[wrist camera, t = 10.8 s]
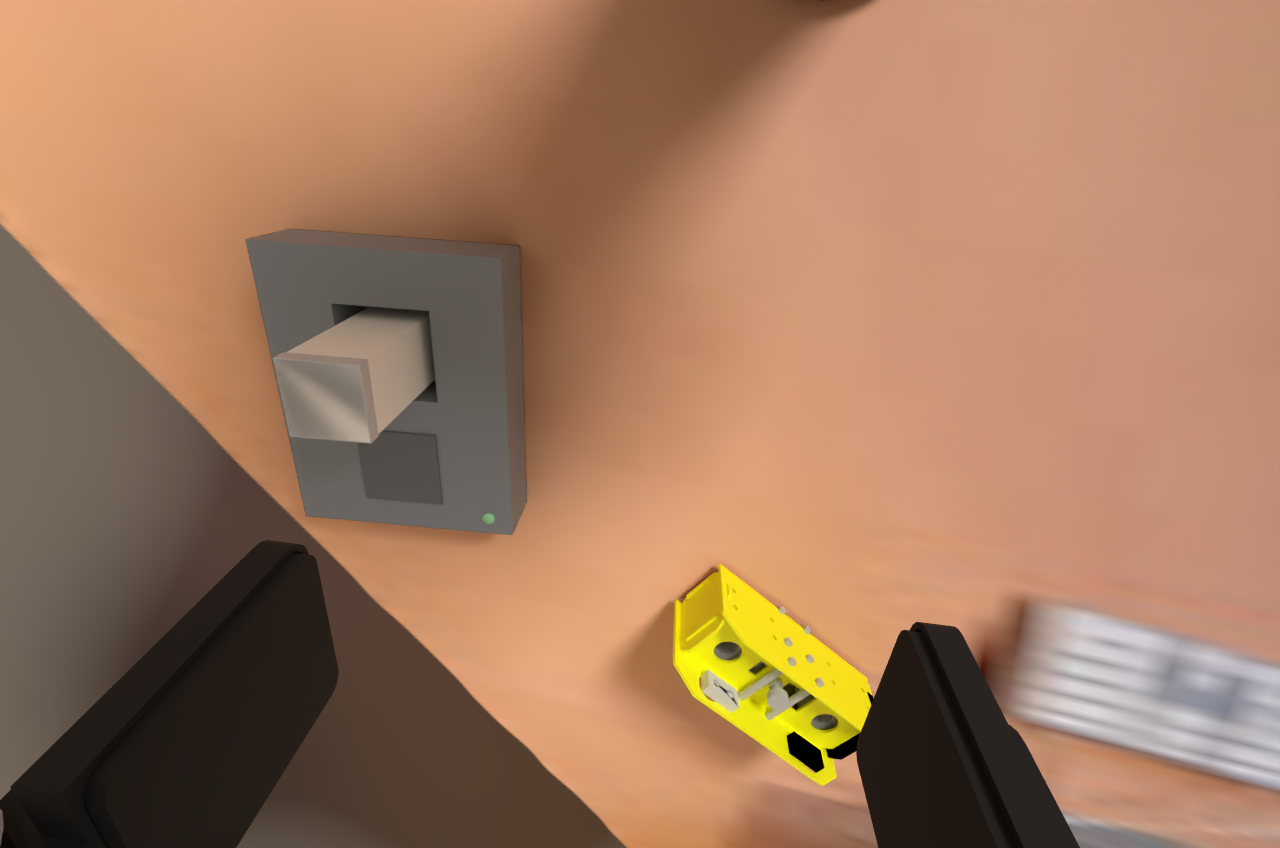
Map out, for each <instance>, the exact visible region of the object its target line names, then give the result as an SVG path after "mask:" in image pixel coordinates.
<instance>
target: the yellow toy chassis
mask: <svg viewBox="0 0 1280 848" xmlns="http://www.w3.org/2000/svg"><path fill="white" fill-rule="evenodd" d="M718 568H719V572H716V573H713V574H711V575H710V576H709V577H708V578H707V579H705V580H704V581H703V582H702V583H700V584H699V585H698V586H697V587H695V588H694V589H693V590H692V591H691V592H689V593H688V594H687V595H686V598H685V600H684V601H683V603H681V602H679V601H678V600H677V599H676V600H675V603H674V635H673V665H674V667H675V668H676V670H677V671H678V673H679V675H680V676H681V678H682V679H683V681H684V683H685V684H686V686H687V688H688V689H689V691H690V692H691V694H692V696H693V697H694V698H696V699H697V700H699V701H700V702H701V703H703V704H704V705H706V706H707V707H709V708H710V709H711V710H713V711H714V712H716V713H717V714H719V715H720V716H722V717H723V718H724V719H726V720H727V721H729V722H730V723H732V724H733V725H734V726H736V727H737V728H739V729H740V730H742V731H743V732H744V733H746V734H747V735H749V736H750V737H752V738H753V739H754V740H756V741H757V742H759V743H760V744H762V745H763V746H764V747H766V748H767V749H769V750H770V751H772V752H773V753H774V754H776V755H777V756H779V757H780V758H782V759H783V760H784V761H786V762H787V763H789V764H790V765H792V766H793V767H794V768H796V769H797V770H799V771H800V772H802V773H803V774H805V775H806V776H807V777H809V778H810V779H812V780H813V781H815V782H816V783H817V784H819V785H820V786H823V785H825V784H826V783H828V782H830V781H831V780H833V779H835V778H836V777H837V775H836V770H835V766H834V762H833V759H841V760H842V759H843V758H845V757H847V756H848V755H850V754H852V753H854V752H855V751H857V741H858V738H859V735H860V732H861V730H862V727H863V725H864V722H865V720H866V717H867V715H868V712H869V710H870V707H871V704H872V702H873V696H872V693H871V690H870V687H869V684H868V681H867V678H866V677H865V676H864V675H862V674H861V673H860V672H859V671H857V670H856V669H855V668H853V667H852V666H851V665H850V664H848V663H847V662H846V661H844V660H843V659H842V658H841V657H839V656H838V655H837V654H836V653H834V652H833V651H832V650H830V649H829V648H828V647H827V646H825V645H824V644H823V643H821V642H820V641H819V640H818V639H816V638H815V637H814V636H812V635H811V634H810V633H811V629H810V628H809V627H808V626H805V627H804V628H802V627H801V626H800V625H798V624H797V623H796V622H795V621H793V620H792V619H791V618H789V617H788V616H787V615H786V614H785V613H786V610H785V608H784V607H783V606H781V607H779V608H777V607H775V606H774V605H773V604H771V603H770V602H769V601H768V600H766V599H765V598H764V597H762V596H761V595H760V594H759V593H757V592H756V591H755V590H754V589H752V588H751V587H750V586H748V585H747V584H746V583H745V582H743V581H742V580H741V579H739V578H738V577H737V576H736V575H734V574H733V573H732V572H730V571H729V570H728V569H727V568H725V567H724V566H723V565H721V564H719V565H718ZM700 677H701V688H700V685H699V678H700ZM703 693H704V694H705V695H707V696H708V697H710V698H711V699H713V700H714V701H715V702H712V701H710V700H709V699H708V698H706V696H705V695H704V694H703ZM804 764H805V765H806V766H808V767H809V768H810V769H812V770H813V771H815V772H811V771H810V770H809V769H808V768H807V767H806V766H805V765H804Z"/></svg>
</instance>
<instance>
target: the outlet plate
mask: <svg viewBox="0 0 1280 848" xmlns="http://www.w3.org/2000/svg"><path fill="white" fill-rule="evenodd" d="M246 244H247V248H248V253H249V257H250V262H251V267H252V271H253V276H254V280H255V285H256V289H257V294H258V299H259V303H260V308H261V312H262V317H263V321H264V326H265V331H266V335H267V340H268V344H269V349H270V354H271V358H272V363H273V367H274V372H275V376H276V381H277V386H278V390H279V395H280V399H281V404H282V408H283V413H284V418H285V422H286V427H287V431H288V436H289V440H290V445H291V450H292V454H293V459H294V463H295V468H296V472H297V477H298V482H299V486H300V491H301V495H302V500H303V504H304V509H305V514H306V516H310V517H321V518H332V519H343V520H353V521H364V522H375V523H386V524H397V525H408V526H419V527H430V528H440V529H451V530H462V531H473V532H484V533H495V534H506V535H513V532H514V530H515V528H516V526H517V523H518V521H519V519H520V516H521V514H522V512H523V510H524V507H525V505H526V503H527V491H526V455H525V419H524V383H523V347H522V311H521V275H520V245H506V244H492V243H478V242H465V241H451V240H437V239H423V238H410V237H396V236H382V235H368V234H354V233H341V232H327V231H313V230H299V229H286V230H282V231H278V232H274V233H270V234H266V235H261V236H257V237H253V238H249V239H246ZM368 307H383V308H396V309H409V310H422V311H429V317H430V327H431V338H432V348H433V359H434V369H435V380H434V381H433V382H432V383H431V384H430V385H429V386H428V387H427V388H426V389H425V390H424V391H423V392H422V393H421V394H420V395H418V396H417V397H416V398H415V399H414V400H413V401H412V402H411V403H410V404H409V405H408V406H407V407H406V408H405V409H404V410H403V411H402V412H401V413H400V414H399V415H398V416H397V417H396V418H395V419H394V420H393V421H392V422H391V423H390V424H389V425H388V426H387V427H386V428H385V429H384V430H383V431H382V432H381V433H379V436H378V437H377V438H376V439H375V440H374V441H373V442H372V443H371V444H370V443H359V442H348V441H336V440H325V439H314V438H302V437H291V436H290V434H289V430H288V425H287V420H286V416H285V411H284V407H283V402H282V397H281V393H280V388H279V383H278V379H277V374H276V369H275V365H274V360H273V358H274V357H275V356H277V355H279V354H281V353H283V352H288V351H290V350H291V349H293V348H295V347H297V346H299V345H301V344H302V343H304V342H306V341H308V340H310V339H312V338H313V337H315V336H317V335H319V334H321V333H323V332H324V331H326V330H328V329H330V328H332V327H334V326H335V325H337V324H339V323H341V322H343V321H344V320H346V319H348V318H350V317H352V316H354V315H355V314H357V313H359V312H361V311H363V310H365V309H366V308H368Z"/></svg>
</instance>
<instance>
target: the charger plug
mask: <svg viewBox="0 0 1280 848" xmlns="http://www.w3.org/2000/svg"><path fill="white" fill-rule="evenodd" d="M273 360H274V365H275V369H276V374H277V379H278V383H279V388H280V393H281V397H282V402H283V407H284V411H285V416H286V420H287V425H288V430H289V434H290V436H291V437H302V438H314V439H325V440H336V441H348V442H359V443H370V444H371V443H372V442H373V441H374V440H375V439H376V438H377V437H378V436H379V433H381V432H382V431H383V430H384V429H385V428H386V427H387V426H388V425H389V424H390V423H391V422H392V421H393V420H394V419H395V418H396V417H397V416H398V415H399V414H400V413H401V412H402V411H403V410H404V409H405V408H406V407H407V406H408V405H409V404H410V403H411V402H412V401H413V400H414V399H415V398H416V397H417V396H418V395H420V394H421V393H422V392H423V391H424V390H425V389H426V388H427V387H428V386H429V385H430V384H431V383H432V382H433V381H434V380H435V369H434V359H433V348H432V338H431V327H430V317H429V311H422V310H409V309H396V308H383V307H368V308H366V309H365V310H363V311H361V312H359V313H357V314H355V315H354V316H352V317H350V318H348V319H346V320H344V321H343V322H341V323H339V324H337V325H335V326H334V327H332V328H330V329H328V330H326V331H324V332H323V333H321V334H319V335H317V336H315V337H313V338H312V339H310V340H308V341H306V342H304V343H302V344H301V345H299V346H297V347H295V348H293V349H291V350H290V351H288V352H283V353H281V354H279V355H277V356H275V357H274V358H273Z"/></svg>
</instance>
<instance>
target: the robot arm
mask: <svg viewBox="0 0 1280 848" xmlns="http://www.w3.org/2000/svg"><path fill="white" fill-rule="evenodd" d="M337 680H338V666H337V661H336V656H335V651H334V646H333V641H332V636H331V631H330V626H329V621H328V616H327V611H326V606H325V601H324V596H323V591H322V586H321V581H320V576H319V571H318V566H317V562H316V559H315V557H314V556H312V555H309V554H308V552H307V549H306V548H305V547H304V546H303V545H300V544H293V543H285V542H277V541H269V540H266V541H262V542H260V543H259V544H258V545H256V546H255V547H254V548H253V549H252V550H251V551H250V552H249V553H248V554H247V555H246V556H245V557H244V558H243V559H242V560H241V561H240V562H239V563H238V564H237V565H236V566H235V567H234V568H233V569H232V570H231V571H230V572H229V573H228V574H227V575H226V576H224V578H223V579H221V580H220V581H219V583H217V584H216V586H214V587H213V588H212V589H211V590H210V591H209V592H208V593H207V594H206V595H205V596H204V597H203V598H202V599H201V600H200V601H199V602H198V603H197V604H196V605H195V606H194V607H193V608H192V609H191V610H190V611H189V612H188V613H187V614H186V615H185V616H184V617H183V618H182V619H181V620H180V621H179V622H178V623H177V624H176V625H175V626H174V627H173V628H172V629H171V630H170V631H169V632H168V633H166V634H165V636H164V637H162V638H161V640H159V641H158V642H157V643H156V644H155V645H154V646H153V647H152V648H151V649H150V650H149V651H148V652H147V653H146V654H145V655H144V656H143V657H142V658H141V659H140V660H139V661H138V662H137V663H136V664H135V665H134V666H133V667H132V668H131V669H130V670H129V671H128V672H127V673H126V674H125V675H124V676H123V677H122V678H121V679H120V680H119V681H118V682H117V683H116V684H115V685H113V687H112V688H110V689H109V690H108V691H107V692H106V693H105V694H104V695H103V696H102V697H101V698H100V699H99V700H98V701H97V702H96V703H95V704H94V705H93V706H92V707H91V708H90V709H89V710H88V711H87V712H86V713H85V714H84V715H83V716H82V717H81V718H80V719H79V720H78V721H77V722H76V723H75V724H74V725H73V726H72V727H71V728H70V729H69V730H68V731H67V732H66V733H65V734H64V735H63V736H62V737H61V738H60V739H59V740H57V741H56V742H55V743H54V744H53V746H51V747H50V748H49V749H48V750H47V751H46V752H45V753H44V754H43V755H42V756H41V757H40V758H39V759H38V760H37V761H36V762H35V763H34V764H33V765H32V766H31V767H30V768H29V769H28V770H27V771H26V772H25V773H24V774H23V775H22V776H21V777H20V778H19V779H18V780H17V781H16V782H15V783H14V784H13V785H12V786H11V790H10V791H9V792H8V793H7V794H6V795H5V796H4V797H3V798H2V799H1V800H0V848H236V847H237V846H238V844H239V842H240V841H241V839H242V838H243V836H244V834H245V833H246V831H247V830H248V828H249V826H250V825H251V823H252V822H253V820H254V818H255V817H256V815H257V814H258V812H259V810H260V809H261V807H262V806H263V804H264V802H265V801H266V799H267V798H268V796H269V794H270V793H271V791H272V790H273V788H274V786H275V785H276V783H277V782H278V780H279V778H280V777H281V775H282V774H283V772H284V770H285V769H286V767H287V766H288V764H289V763H290V761H291V759H292V758H293V756H294V754H295V753H296V751H297V750H298V748H299V746H300V745H301V743H302V742H303V740H304V739H305V737H306V735H307V734H308V732H309V730H310V729H311V727H312V726H313V724H314V723H315V721H316V719H317V718H318V716H319V715H320V713H321V711H322V710H323V708H324V707H325V705H326V703H327V702H328V700H329V699H330V697H331V695H332V694H333V692H334V690H335V687H336V684H337ZM857 762H858V767H859V771H860V775H861V779H862V783H863V787H864V791H865V795H866V799H867V803H868V807H869V811H870V815H871V819H872V823H873V827H874V832H875V836H876V840H877V844H878V848H1080V847H1079V845H1078V843H1077V841H1076V839H1075V837H1074V835H1073V834H1072V832H1071V830H1070V828H1069V826H1068V824H1067V822H1066V820H1065V818H1064V816H1063V814H1062V813H1061V811H1060V809H1059V807H1058V805H1057V803H1056V801H1055V799H1054V797H1053V795H1052V793H1051V792H1050V790H1049V788H1048V786H1047V784H1046V782H1045V780H1044V778H1043V776H1042V774H1041V772H1040V770H1039V769H1038V767H1037V765H1036V763H1035V761H1034V759H1033V757H1032V755H1031V753H1030V751H1029V749H1028V748H1027V746H1026V744H1025V742H1024V741H1023V739H1022V738H1021V736H1020V735H1019V733H1018V732H1017V731H1016V730H1015V729H1014V728H1013V727H1012V726H1010V725H1008V723H1007V721H1006V719H1005V717H1004V715H1003V713H1002V711H1001V709H1000V707H999V706H998V704H997V702H996V700H995V698H994V696H993V694H992V692H991V690H990V688H989V686H988V684H987V682H986V680H985V678H984V676H983V674H982V672H981V670H980V668H979V666H978V664H977V663H976V661H975V659H974V657H973V655H972V653H971V651H970V649H969V647H968V645H967V643H966V641H965V639H964V637H963V635H962V634H961V632H960V631H959V629H957V628H956V627H953V626H945V625H937V624H929V623H921V622H916V623H914V624H913V625H912V627H911V629H910V631H908V630H902V631H901V632H900V634H899V636H898V638H897V641H896V643H895V646H894V648H893V651H892V654H891V656H890V659H889V661H888V664H887V666H886V669H885V671H884V674H883V676H882V679H881V682H880V684H879V687H878V689H877V692H876V694H875V697H874V699H873V702H872V704H871V707H870V710H869V712H868V715H867V717H866V720H865V722H864V725H863V727H862V730H861V732H860V735H859V738H858V741H857Z"/></svg>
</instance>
